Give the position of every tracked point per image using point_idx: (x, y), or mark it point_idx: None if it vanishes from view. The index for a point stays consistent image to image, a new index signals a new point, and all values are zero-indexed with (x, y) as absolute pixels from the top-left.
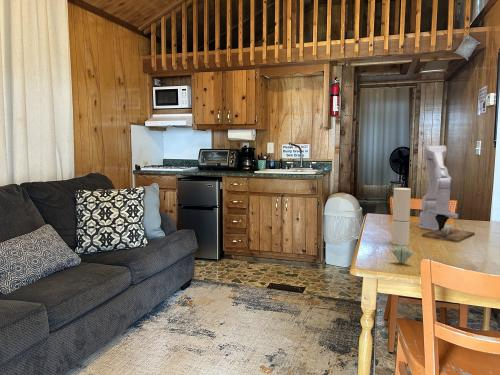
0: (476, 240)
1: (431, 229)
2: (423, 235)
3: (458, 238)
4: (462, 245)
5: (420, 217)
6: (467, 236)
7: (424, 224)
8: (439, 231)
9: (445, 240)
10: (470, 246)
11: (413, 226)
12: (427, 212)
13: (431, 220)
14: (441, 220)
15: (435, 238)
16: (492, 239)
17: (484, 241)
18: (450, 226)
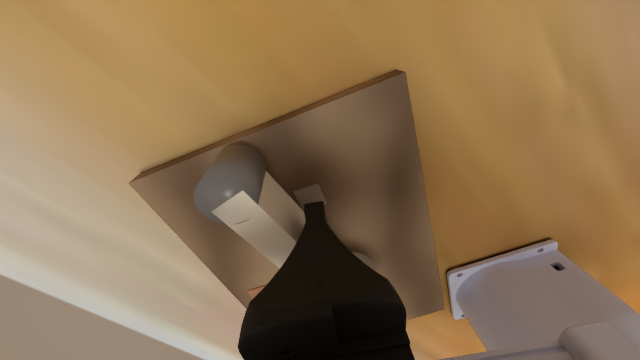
0: (187, 294)
1: (471, 264)
2: (390, 74)
3: (180, 222)
4: (41, 142)
5: (617, 307)
6: (242, 298)
7: (537, 274)
8: (391, 250)
9: (217, 142)
10: (10, 172)
11: (587, 238)
12: (626, 340)
13: (519, 318)
14: (275, 280)
15: (288, 113)
16: (195, 347)
17: (160, 308)
18: None
